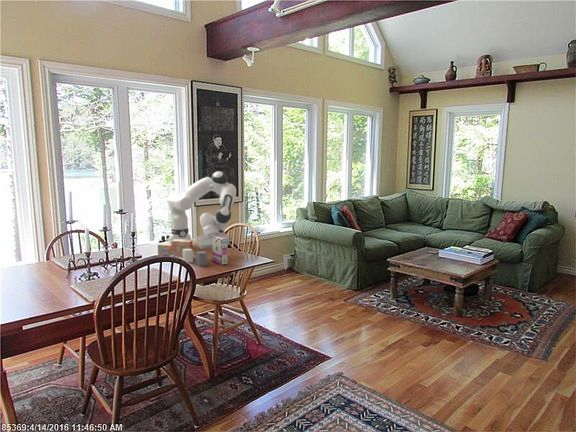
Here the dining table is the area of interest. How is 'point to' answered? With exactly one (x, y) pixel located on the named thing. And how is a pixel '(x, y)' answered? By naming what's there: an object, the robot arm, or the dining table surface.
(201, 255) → the charcoal block
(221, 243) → the candy bar box
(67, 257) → the dining table surface
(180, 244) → the stack of blocks
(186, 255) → the pale grey block
